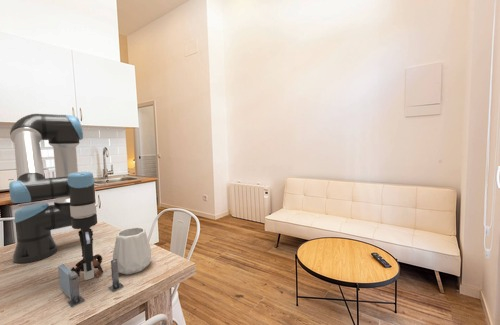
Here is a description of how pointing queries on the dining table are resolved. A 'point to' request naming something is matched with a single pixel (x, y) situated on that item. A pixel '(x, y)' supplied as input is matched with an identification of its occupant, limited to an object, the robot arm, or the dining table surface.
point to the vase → (132, 250)
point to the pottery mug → (95, 264)
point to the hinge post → (75, 293)
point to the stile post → (115, 276)
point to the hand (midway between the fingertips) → (89, 277)
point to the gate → (66, 279)
